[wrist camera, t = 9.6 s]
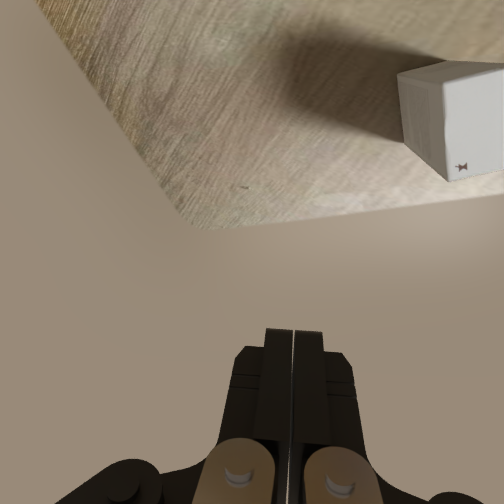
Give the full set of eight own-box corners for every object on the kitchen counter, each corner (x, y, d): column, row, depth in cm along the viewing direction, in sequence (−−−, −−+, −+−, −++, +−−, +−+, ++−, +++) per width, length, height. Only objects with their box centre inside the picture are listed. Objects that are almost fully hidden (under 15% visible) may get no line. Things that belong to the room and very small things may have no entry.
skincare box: (455, 132, 36) (521, 170, 25) (403, 144, 37) (445, 185, 26) (450, 56, 33) (521, 62, 23) (395, 71, 34) (438, 83, 23)
